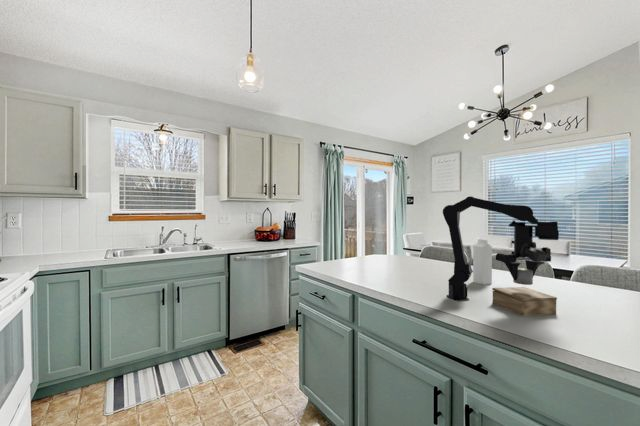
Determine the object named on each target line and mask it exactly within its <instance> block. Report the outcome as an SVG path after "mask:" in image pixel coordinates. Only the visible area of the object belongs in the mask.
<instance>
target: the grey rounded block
mask: <svg viewBox="0 0 640 426" xmlns="http://www.w3.org/2000/svg"><path fill="white" fill-rule="evenodd" d="M512 279H513V278H512ZM533 282H534V276H533V270H531V269H527V268H526V267H525V268H523V267H518V275H517V280H514V279H513V283H514V284H519V285H525V286H527V285H528V286H531V285H533V284H534V283H533Z"/></svg>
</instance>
